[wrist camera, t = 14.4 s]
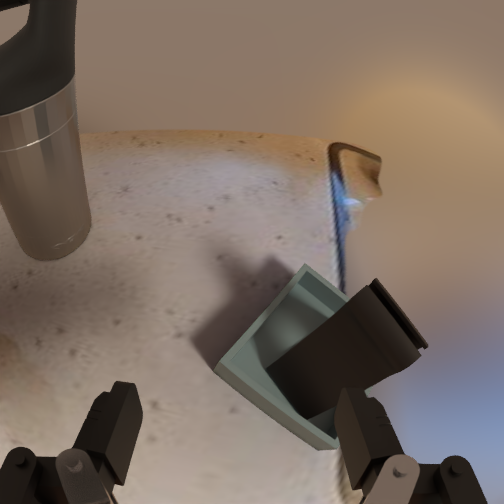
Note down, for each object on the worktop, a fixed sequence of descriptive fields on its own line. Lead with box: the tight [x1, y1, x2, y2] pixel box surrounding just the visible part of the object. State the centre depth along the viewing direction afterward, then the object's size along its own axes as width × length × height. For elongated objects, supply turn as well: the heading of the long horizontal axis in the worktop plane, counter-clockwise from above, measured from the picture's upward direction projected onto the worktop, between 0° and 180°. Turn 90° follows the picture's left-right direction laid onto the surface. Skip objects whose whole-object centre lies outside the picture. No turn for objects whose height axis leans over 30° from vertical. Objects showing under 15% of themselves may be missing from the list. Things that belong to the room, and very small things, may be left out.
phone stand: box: [266, 278, 428, 420], centre depth 23 cm, size 9×6×12 cm, turn 125°
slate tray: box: [213, 264, 373, 450], centre depth 28 cm, size 12×13×4 cm
